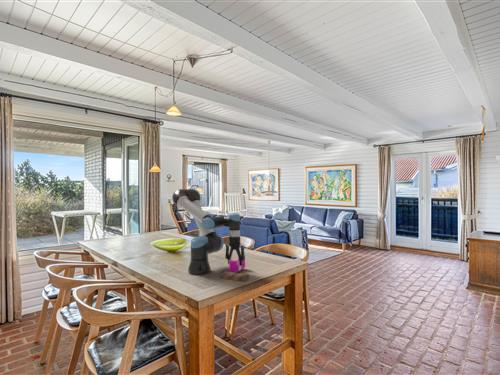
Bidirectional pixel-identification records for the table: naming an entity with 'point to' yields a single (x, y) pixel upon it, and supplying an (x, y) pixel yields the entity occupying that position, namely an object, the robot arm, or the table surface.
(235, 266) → the toy block
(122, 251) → the table surface
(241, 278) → the brown flat bar
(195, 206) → the robot arm
